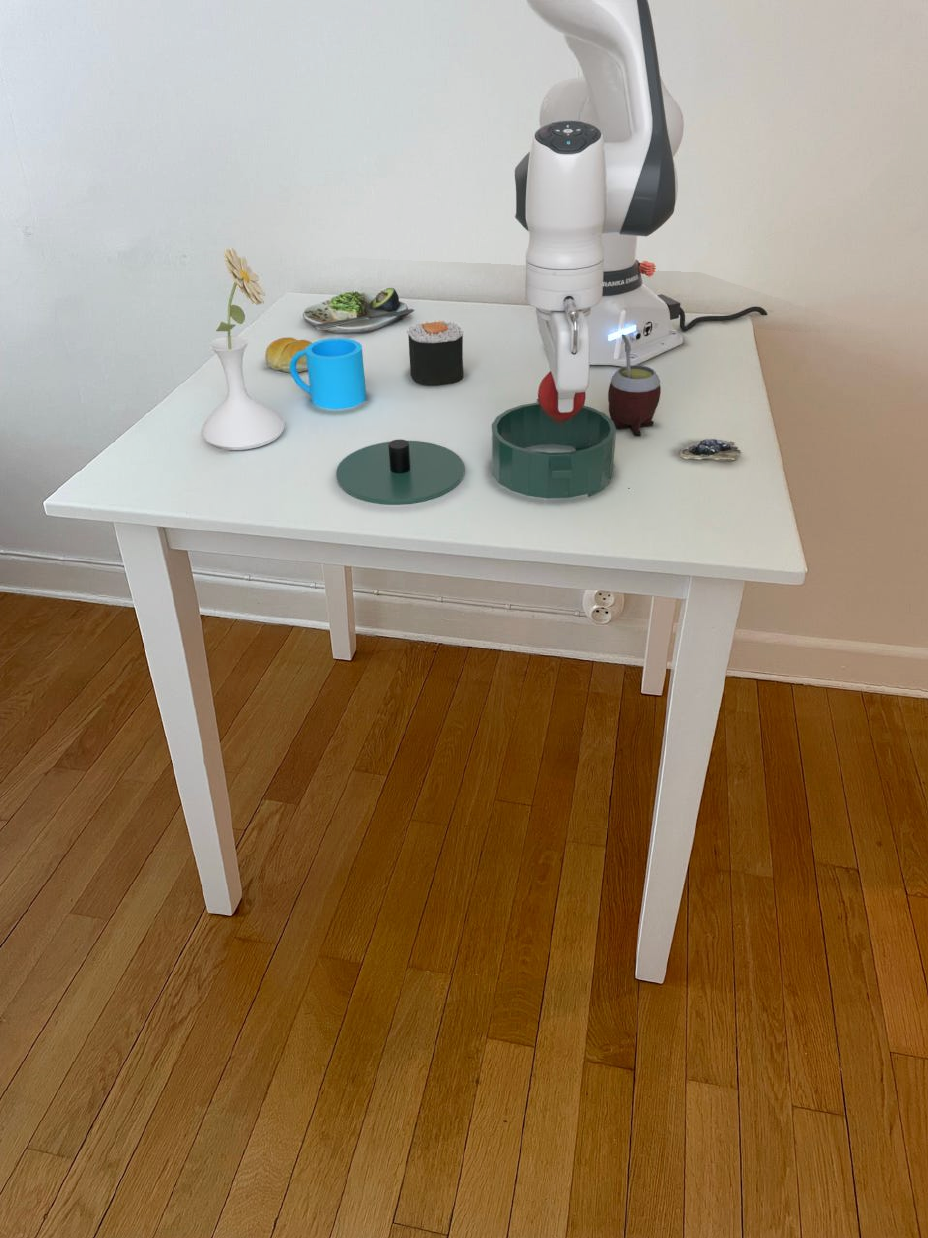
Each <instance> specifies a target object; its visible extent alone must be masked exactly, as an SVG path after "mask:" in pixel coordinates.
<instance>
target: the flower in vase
mask: <svg viewBox="0 0 928 1238" xmlns="http://www.w3.org/2000/svg"><path fill="white" fill-rule="evenodd" d="M223 258H224V263H225V266H226V269H227V271H228V273H229V274H230V276H231V279H232V280H233V282H234V283H233V285H232V288H231V292H230V295H229V298H228V306H227V323H226V322H223V321H220V323H219V326H218V328H217V329H216V330H215V332H227V336H223V337H219V338H215V339H214V340H212V341H210V343H209V344H208V345H209V348H210V349H211V350H212V351H213V352H214V353H215V354H216V356H217V358H218V359H219V361H220V363H221V365H222V369H223V371H224V375H225V379H226V385H227V395H226V398H225V399H224V400H223V402H222V403H221V404H220V405H219V406H218V407H217V408H216V409H215V410H214V411H213V412H212V413H210V415H208V417H207V418H206V419H205V420H204V422H203V424H202V428H201V433H200V434H201V437H202V439H203V440H204V441H205V442H206V443H207V444H209V445H211V446H212V447H215V448H217V449H222V450H229V451H230V450H231V451H242V450H244V451H245V450H252V449H255V448H259V447H262V446H266V445H268V444H270V443H272V442H274V441H275V440H277V439H279V437H280V436H281V435H282V434H283V432H284V430H285V428H286V423H285V421H284V419H283V418H282V416H281V414H280V413H278V412H277V411H276V410H275V409H273V408H272V407H270V406H268V405H267V404H265V403H262V402H260V401H259V400H257V399H255V398H253V397H252V396H251V395H250V394H249V393H248V391H247V389H246V384H245V381H244V372H243V371H244V370H243V357H244V353H245V350H246V348H247V346H248V344H249V340H248V339H247V338H245V337H242V336H236V335H233V336H232V335H231V330H232V329H234V328H235V327H236V326H237V324H239V325H242V324H243V323H244V322H245V321H246V320H245V319H246V315H245V312H244V310H243V308H242V307H241V306H239V305H236V304H232V302H233V298H234V295H235V291H236V289H238V290H239V292H241V293H242V295H243V296H244V297H245V298H246V299H248V301H249V302H250V303H251V304H255V305H257V306H259V305H260V306H261V305H262V304H265V301H264V299H263V298H262V297H261V296H263V297H264V296H265V294H266V293H265V291H264V290H263V288H262V286H261V284H259V283H258V282H259V279H260V278H259V275H258V274H257V273H255V272H253V269H252V268H251V266H249V265H248V260H247V259H246V257H245V256H241V257H239V256H238V254H237V251H236V249H234V248H233V246H230V248H229V249H228V248H227V247H225V248H224V252H223ZM260 295H261V296H260ZM231 319H232V320H233V321H234V322H235V323H237V324H233V323H232V324H231Z"/></svg>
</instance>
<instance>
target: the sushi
mask: <svg viewBox="0 0 928 1238" xmlns="http://www.w3.org/2000/svg"><path fill="white" fill-rule="evenodd" d="M406 333H407V337H408V353H409V354H408V356H409V370H410V371H409V372H410V373H409V374H410V377H411V379H412V380H413V381H414V382H415V383H416V384H418V385H421V386H430V387H431V386H432V387H433V386H435V387H436V386H445V385H452V384H456V383H459V382H461V381H462V380H463V379H464V358H463V357H464V355H463V354H464V353H463V352H464V347H463V346H464V331H462V327H461V326H459V325H457V324H455V323H454V322H451V321H443V320H439V321H436V320H434V321H433V322H432V321H431V322H428V321H425V323H423V322H422V323H421V322H419V323H418V324H416V325H414V326H409V327H408V329H407V330H406Z"/></svg>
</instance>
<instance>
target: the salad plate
mask: <svg viewBox="0 0 928 1238" xmlns="http://www.w3.org/2000/svg"><path fill="white" fill-rule="evenodd" d="M413 312H415V309H414V308H413V309H412V308H409V309H408V305H407V304H406V303H405V302H403V301H400V298H399V294H398V292H397V290H396V289H395V288H394V287H387V288H385V289H384V290H381V291H380V292H378V293H377V294H373V293H368V292H359V291H351V292H343V293H340V294H338V295H335V296H333V297H331V298H329V299H327V300H324V301H322V302H320V303H317V304H314V305H310V306H309V307H306V308H305V309H303V313H302V318H303V319H304V321H306V322H308V324H310V325H312V326H311V327H314V328H315V330H318V331H325V332H329V333H331V334H358V333H369V332H373V331H376V330H379V329H382V328H383V327H387V326H390V325H394V324H395V323H398V322H399V321H401V320H403V318H404V317H407V316H408V315H411V314H412V313H413Z"/></svg>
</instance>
